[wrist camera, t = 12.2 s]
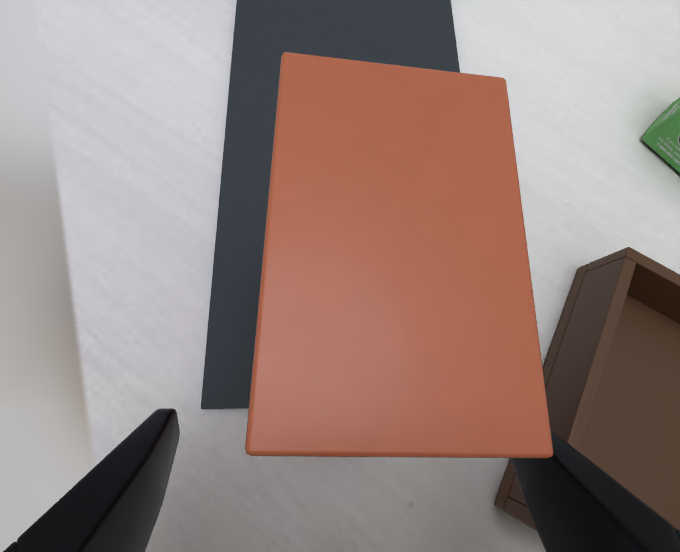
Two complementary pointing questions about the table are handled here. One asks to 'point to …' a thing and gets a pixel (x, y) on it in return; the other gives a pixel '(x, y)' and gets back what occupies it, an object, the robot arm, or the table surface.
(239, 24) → the mat
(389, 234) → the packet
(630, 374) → the tray
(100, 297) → the table surface
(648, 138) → the ink box
